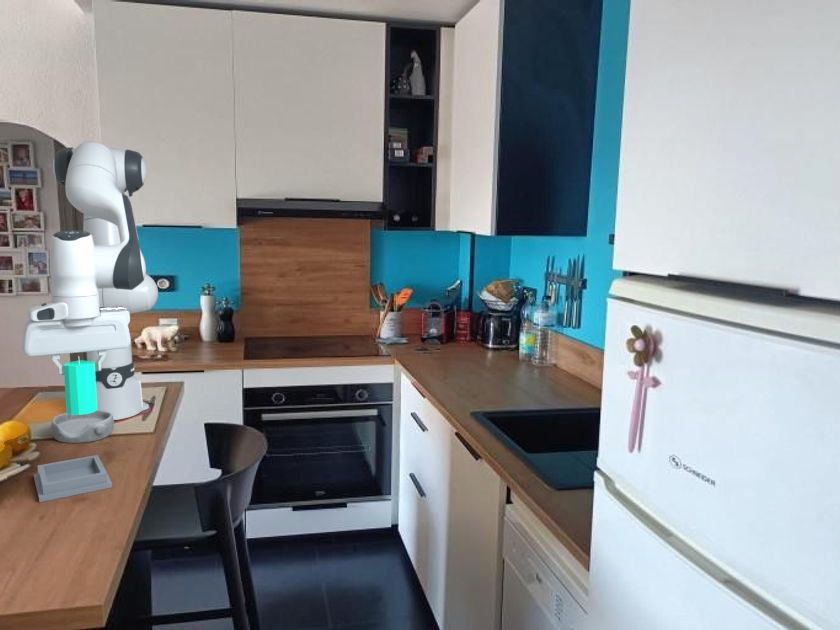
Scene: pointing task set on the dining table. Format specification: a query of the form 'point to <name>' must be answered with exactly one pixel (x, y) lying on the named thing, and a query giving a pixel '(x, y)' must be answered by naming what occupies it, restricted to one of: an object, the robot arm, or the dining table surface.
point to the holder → (71, 478)
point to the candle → (80, 387)
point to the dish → (82, 427)
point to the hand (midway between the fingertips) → (80, 372)
